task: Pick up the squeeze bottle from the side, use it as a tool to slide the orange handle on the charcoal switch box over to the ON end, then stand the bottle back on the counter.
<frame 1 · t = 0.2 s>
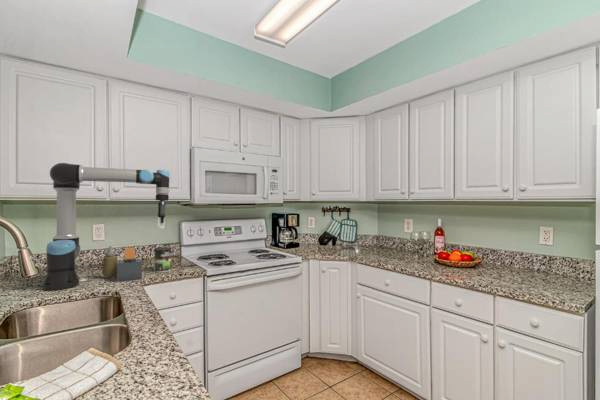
hand: (160, 227, 192), 27 cm above the worktop, tool pointing down, fingers open, 13 cm apart
squeeze bottle: (110, 277, 175), on the worktop
switch box: (129, 278, 172), on the worktop
coffee can: (162, 270, 192), on the worktop
breaker handle: (129, 254, 174), point 14 cm above the worktop, slide at 0.0 cm
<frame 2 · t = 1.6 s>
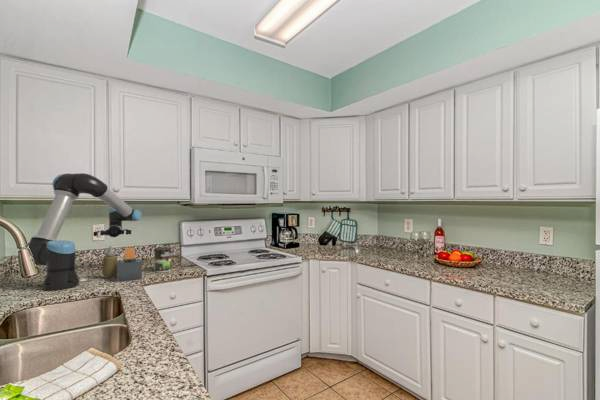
hand: (111, 234, 183), 24 cm above the worktop, tool horizontal, fingers open, 13 cm apart
nothing on the worktop moved.
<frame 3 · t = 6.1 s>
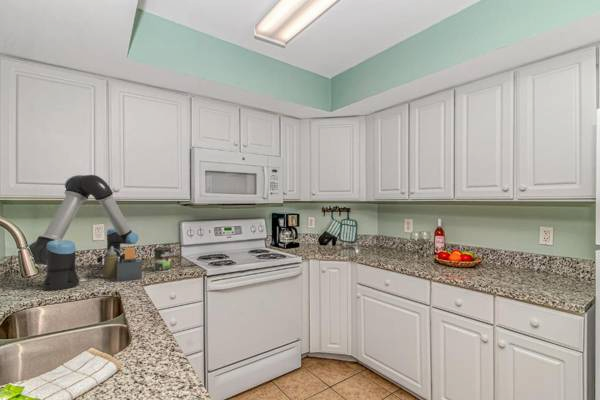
hand: (110, 261, 171), 10 cm above the worktop, tool horizontal, fingers closed on squeeze bottle, 7 cm apart
squeeze bottle: (110, 277, 175), on the worktop, touching gripper
everything else where it was.
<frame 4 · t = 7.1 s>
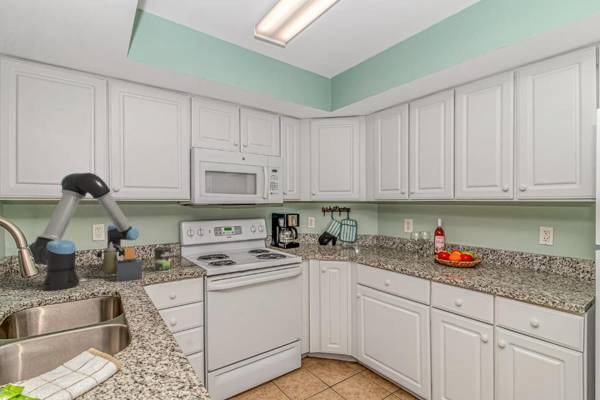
hand: (110, 256, 171), 13 cm above the worktop, tool horizontal, fingers closed on squeeze bottle, 6 cm apart
squeeze bottle: (110, 273, 175), point 2 cm above the worktop, touching gripper
everything else where it was.
when the fingers open (11 cm above the worktop, at t = 16.4 s): squeeze bottle stays where it is, on the worktop.
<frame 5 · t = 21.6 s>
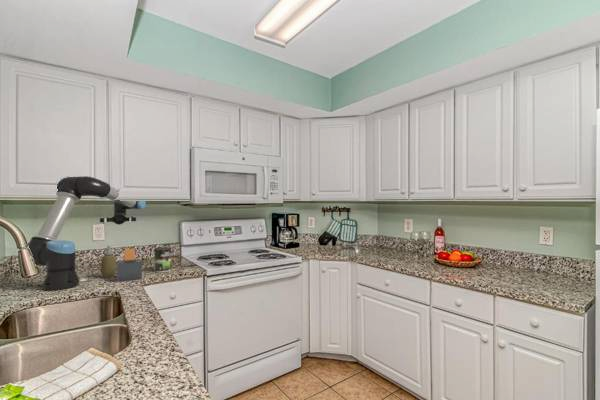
hand: (117, 220, 190), 32 cm above the worktop, tool horizontal, fingers open, 13 cm apart
squeeze bottle: (108, 277, 177), on the worktop
breaker handle: (129, 255, 170), point 14 cm above the worktop, slide at 3.9 cm
everything else where it was.
at the end: breaker handle slide at 3.9 cm; squeeze bottle tilted 0°; squeeze bottle inside the target area (0.3 cm from its centre), on the worktop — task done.
